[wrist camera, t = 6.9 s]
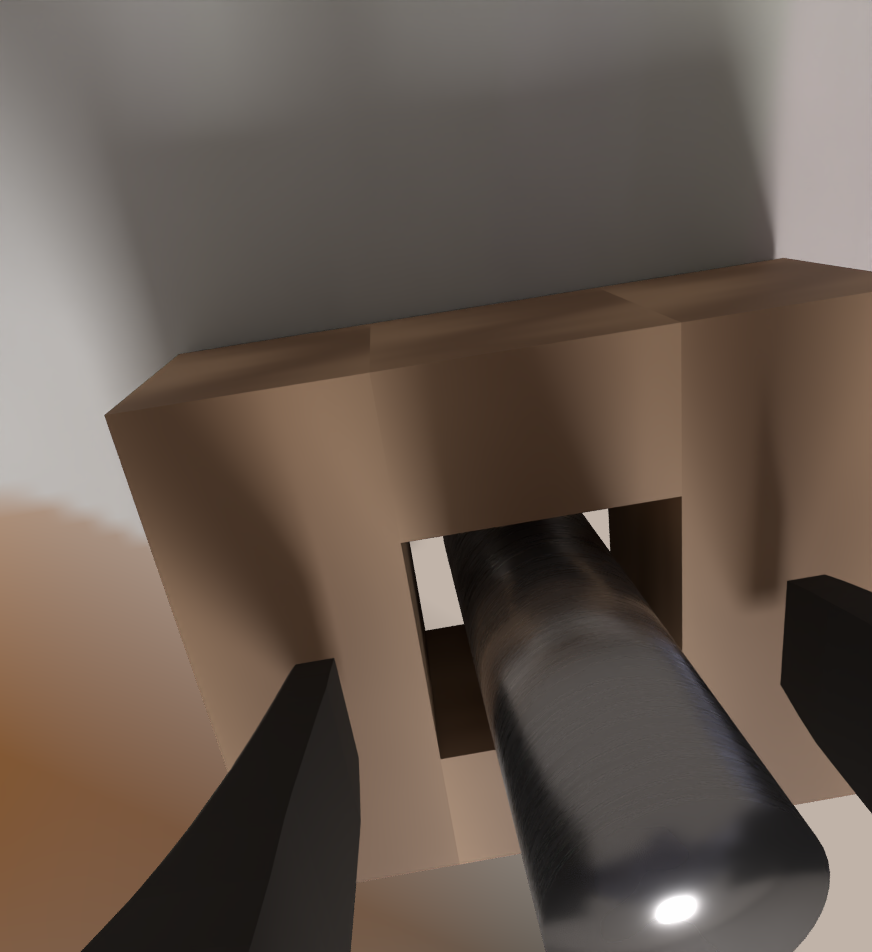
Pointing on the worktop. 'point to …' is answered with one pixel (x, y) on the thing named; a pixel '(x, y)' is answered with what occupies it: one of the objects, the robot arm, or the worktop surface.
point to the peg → (624, 760)
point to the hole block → (508, 509)
